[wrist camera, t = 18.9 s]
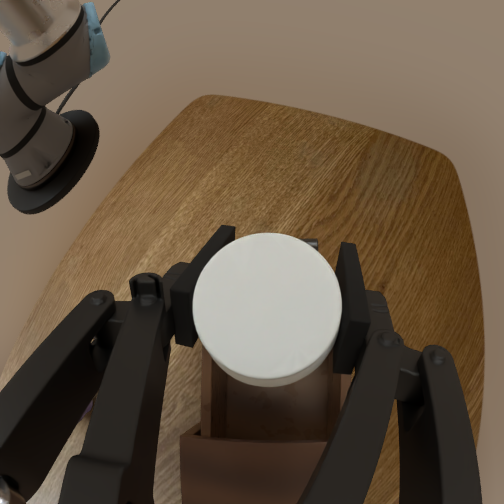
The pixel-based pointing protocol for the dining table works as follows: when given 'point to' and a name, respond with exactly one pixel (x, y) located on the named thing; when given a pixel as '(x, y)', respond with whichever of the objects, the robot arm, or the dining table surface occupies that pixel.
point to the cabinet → (245, 469)
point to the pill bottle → (267, 309)
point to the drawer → (271, 403)
